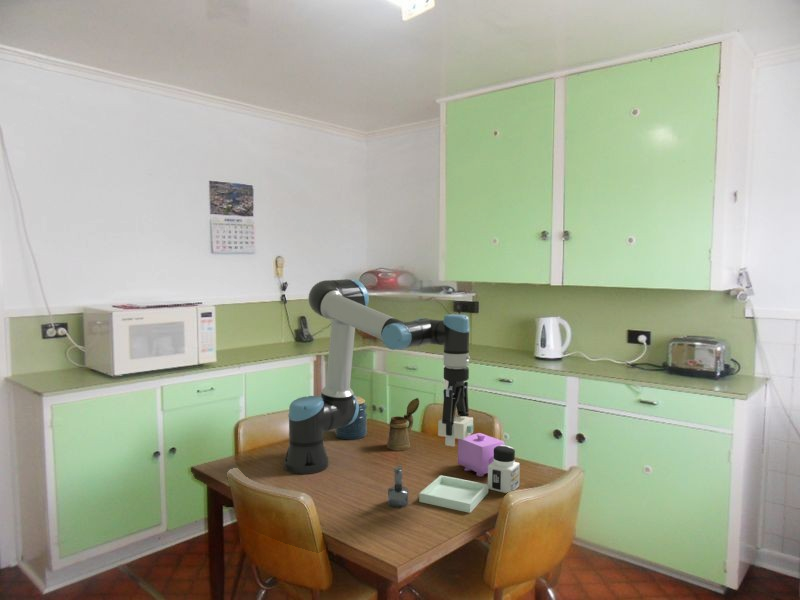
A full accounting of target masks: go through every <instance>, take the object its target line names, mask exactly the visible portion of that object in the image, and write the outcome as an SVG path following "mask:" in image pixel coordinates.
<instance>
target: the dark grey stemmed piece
mask: <svg viewBox="0 0 800 600" xmlns="http://www.w3.org/2000/svg"><path fill="white" fill-rule="evenodd" d="M393 470H394V471H393V473H394V486H391V487H389V488H388V489H387V504H388V506H390V507H391V508H395V509H398V508H399V509H401V508H405V507H407V506H408V505H409V489H408V488H407V487H405V486H403V466H402V465H398V466H397V467H395V468H394V469H393Z"/></svg>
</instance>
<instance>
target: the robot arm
mask: <svg viewBox="0 0 800 600" xmlns="http://www.w3.org/2000/svg"><path fill="white" fill-rule="evenodd" d="M369 302H370V297H369V293H368V289H367V288H366V287H365V285H364V284H363V283H362V282H361V281H359V280H356V279H347V278H346V279H333V280H332V279H330V280H329V279H327V280H326V279H325V280H322V281H321V280H320V281H319V282H317V283H316V284H314V285H313V286H312V287H311V289H310V291H309V293H308V303H309V306H310V308H311V310H313V312H314V313H316V314H317V315H318V316H321V317H323V318H325V319H328V320H330V321H331V323H330V334H329V344H328V345H329V346H328V358H327V359H328V360H327V369H326V370H327V371H326V372H327V373H326V383H325V386H324V387H323V388H322V389H321V392H320V396H318V395H308V396H302V397H298V398H296V399H294V400H293V401H292V402H291V403H290V405H289V409H288V411H289V412H288V433H289V434H288V436H289V437H288V443H289V444H288V448H287V451H286V455H285V458H284V461H283V463H284V465H283V466H284V467H283V468H284V470H286V471H287V472H289V473H291V474H300V475H306V474H307V475H308V474H309V475H310V474H313V473H314V474H315V473H319V472H322V471H324V470H326V469H327V468H328V467H329V457H328V454H327V450H326V447H325V445H324V433H326V432H330V431H333V430H335V429H337V428H342V427H345V426H347V425H349V424H351V423H353V422H354V421H355V419H356V418H357V416H358V412H359V404H358V402H357V398H356V397H355V396H356V395H355V393H354V391H353V389H352V388H351V379H352V368H353V367H352V366H353V357H354V346H355V334H356V329H357V330H359V331H361V332H364V333H366V334H368V335H370V336H373V337H375V338H377V339H378V340H382V343H383V344H384V346H385V347H386V348H387V349H389V350H392V351H393V350H394V351H395V350H399V351H400V350H404V349H409V348H413V347H420V346H425V345H438V346H439V345H440V346H443V359H442V360H443V366H444V367H443V379H444V381H447V382H448V384H447V388H444V389H443V404H442V405H443V406H442V418H441V419H442V423H443V424H445V440H444V444H445V445H444V446H448V447H453V448H454V447H456V438H455V424H454V418H455V415H456V413H457V416H464V417H469V415H470V413H469V411H470V410H469V397H468V396H469V394H468V386H469V385H468V384H469V383H468V380H470V379H469V377H470V368H469V367H468V366H470V365H469V363H470V362H469V361H470V360H471V356H470V353H469V352H470V351H469V350H470V349H469V348H470V343H469V342H470V331H471V330H470V329H471V328H470V318H469V316H468V315H466V314H455V313H454V314H453V313H451V314H450V313H449V314H446V315H444V316H443V320H441V319H440V320H439V319H429V318H425V317H423V318H416V319H414V320H411V321H403V320H401V319H398V318H396V317H392V316H390V315H388V314H387V313H383V312H381V311H378V310H377V309H374V308H371V307H369V306H368V305H369ZM353 394H354V395H353ZM456 411H457V412H456Z"/></svg>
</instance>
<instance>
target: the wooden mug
mask: <svg viewBox="0 0 800 600" xmlns="http://www.w3.org/2000/svg"><path fill="white" fill-rule="evenodd" d="M419 405H420V399H419V398H418V397H416V398H414V399H412V400H411V401H410V402H409V403H408V405H407V407H406V414H404V415H403V416H392V417H391V418H390V421H389V424H388V425H389V431H388V432H389V434H388V440H387V442H386V448H387V449H388V450H391V451H397V452H401V451H406V450H409V449H410V448H411V442H410V438H409V437H410V433H411V430H412V428H413V424H414V418H413V414H415V413H416V412H417V411H418V408H419Z"/></svg>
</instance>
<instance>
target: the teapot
mask: <svg viewBox="0 0 800 600" xmlns="http://www.w3.org/2000/svg"><path fill="white" fill-rule="evenodd" d="M501 445H505V441H503V440H501V439H498V438H496V437H492V436H490V435H487V434H484V433H481V432H478V433H477V432H476V433H472V434H470V435H469V436H468V437H466V438H465V439H464V440H463V439H457V464H458V465H460V466H461V467H464V468H463V470H464V472H465V471H466V472H469V471H470V472H471V471H473V472H475V473H476V475H475V476H477V477H482V478H483V477H484V476H485V475H486V474H488V465H489V464H491V463H492V462H493V461H494V448H495V447H497V446H501Z"/></svg>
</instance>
